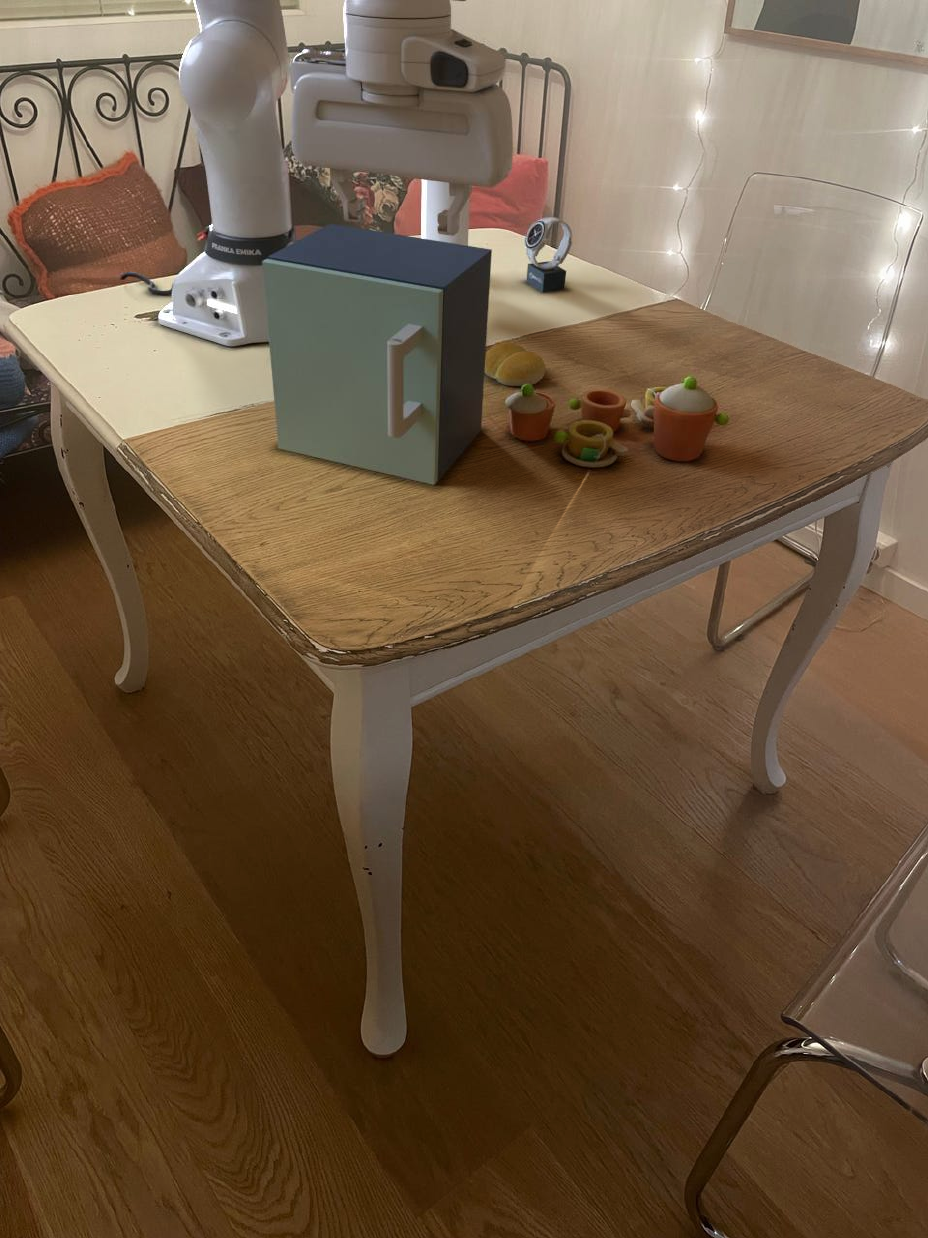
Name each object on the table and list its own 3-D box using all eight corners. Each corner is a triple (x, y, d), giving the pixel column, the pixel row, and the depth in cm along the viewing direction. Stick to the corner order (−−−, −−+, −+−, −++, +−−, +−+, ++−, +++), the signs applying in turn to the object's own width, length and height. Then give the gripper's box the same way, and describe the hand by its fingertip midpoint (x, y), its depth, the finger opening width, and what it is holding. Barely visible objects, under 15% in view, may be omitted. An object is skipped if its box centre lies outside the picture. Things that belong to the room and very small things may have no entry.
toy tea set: (679, 406, 125) (693, 336, 119) (733, 462, 113) (752, 387, 108) (491, 421, 119) (496, 348, 114) (528, 481, 108) (535, 403, 102)
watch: (516, 283, 162) (521, 216, 155) (556, 278, 165) (562, 212, 158) (532, 293, 158) (538, 225, 151) (573, 288, 161) (580, 221, 154)
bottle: (476, 283, 161) (486, 84, 142) (445, 294, 156) (451, 89, 137) (441, 272, 165) (447, 76, 146) (410, 282, 160) (412, 81, 141)
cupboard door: (413, 509, 101) (416, 311, 88) (252, 470, 107) (231, 277, 93) (437, 481, 107) (443, 289, 93) (282, 445, 112) (266, 258, 98)
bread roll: (514, 393, 126) (517, 365, 124) (471, 371, 132) (472, 343, 129) (558, 378, 131) (561, 351, 128) (514, 357, 136) (516, 330, 133)
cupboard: (438, 481, 107) (444, 287, 93) (283, 445, 112) (267, 256, 98) (481, 430, 117) (491, 249, 104) (337, 399, 122) (330, 223, 109)
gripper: (269, 49, 79) (285, 221, 88) (499, 68, 74) (491, 250, 82) (305, 40, 84) (317, 205, 92) (524, 58, 78) (514, 231, 87)
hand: (401, 226), depth 87 cm, fingers open, 8 cm apart
